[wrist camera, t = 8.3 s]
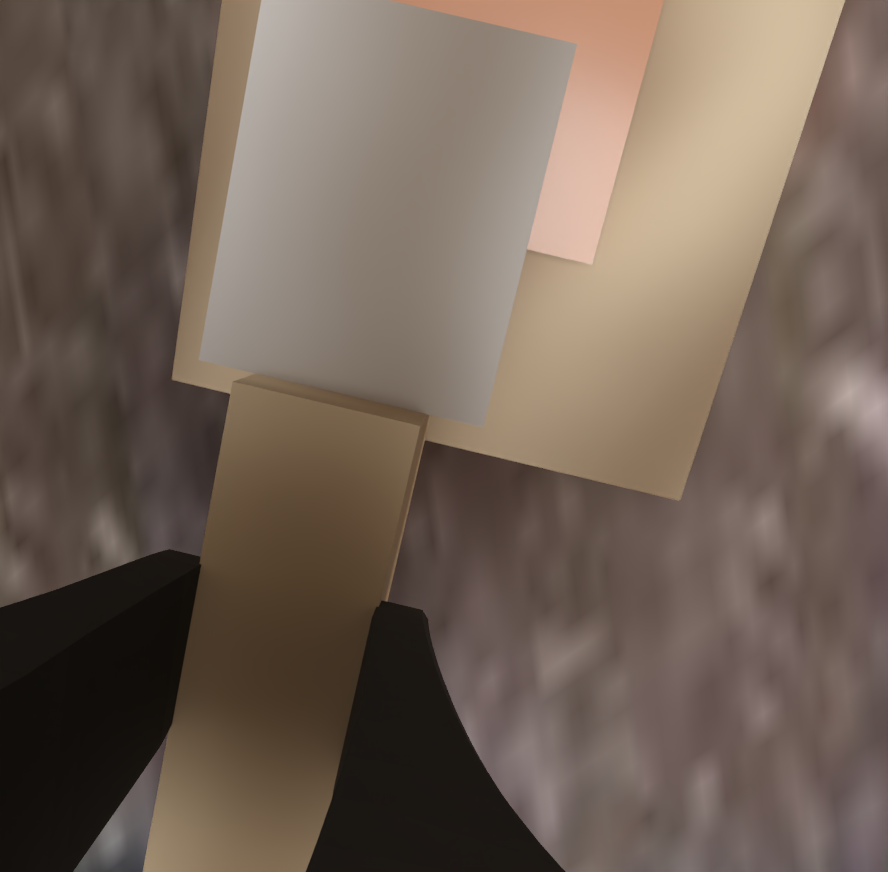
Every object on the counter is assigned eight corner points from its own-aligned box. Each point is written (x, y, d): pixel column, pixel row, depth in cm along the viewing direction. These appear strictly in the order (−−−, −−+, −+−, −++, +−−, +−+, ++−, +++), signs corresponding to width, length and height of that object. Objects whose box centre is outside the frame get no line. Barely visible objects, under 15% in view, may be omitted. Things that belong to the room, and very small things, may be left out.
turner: (153, 832, 15) (69, 969, 12) (301, 23, 12) (242, -64, 9) (367, 885, 15) (336, 1035, 12) (561, 84, 12) (586, 17, 9)
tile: (250, 184, 16) (321, -292, 14) (267, 185, 17) (335, -252, 15) (591, 264, 16) (718, -201, 14) (586, 261, 17) (702, -168, 15)
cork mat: (180, 375, 19) (171, 379, 18) (276, -336, 15) (268, -355, 15) (675, 493, 19) (679, 500, 18) (900, -194, 15) (913, -207, 14)
